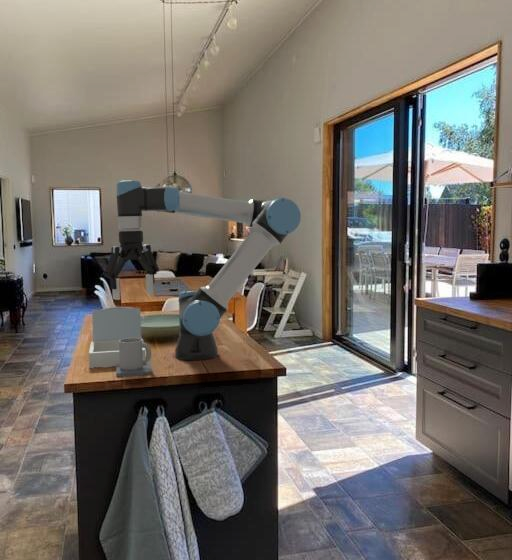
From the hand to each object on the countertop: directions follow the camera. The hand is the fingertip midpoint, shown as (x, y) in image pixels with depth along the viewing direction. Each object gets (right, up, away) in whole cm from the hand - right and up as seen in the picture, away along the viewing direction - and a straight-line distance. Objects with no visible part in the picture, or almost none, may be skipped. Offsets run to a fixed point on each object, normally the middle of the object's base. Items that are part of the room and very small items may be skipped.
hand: (133, 296), depth 180 cm
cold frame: (-9, -22, +16) cm, 29 cm away
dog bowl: (-27, -15, +88) cm, 93 cm away
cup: (+1, -23, 0) cm, 23 cm away
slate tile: (0, -24, 0) cm, 24 cm away
